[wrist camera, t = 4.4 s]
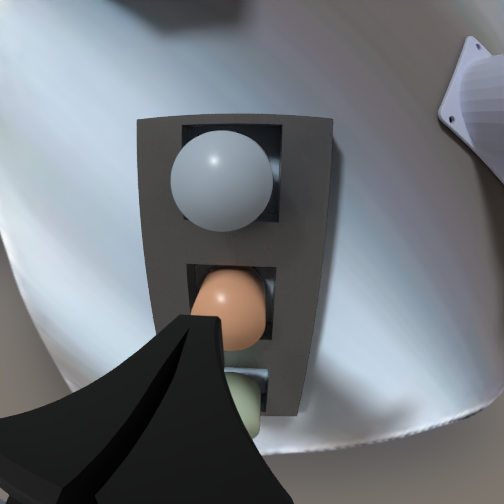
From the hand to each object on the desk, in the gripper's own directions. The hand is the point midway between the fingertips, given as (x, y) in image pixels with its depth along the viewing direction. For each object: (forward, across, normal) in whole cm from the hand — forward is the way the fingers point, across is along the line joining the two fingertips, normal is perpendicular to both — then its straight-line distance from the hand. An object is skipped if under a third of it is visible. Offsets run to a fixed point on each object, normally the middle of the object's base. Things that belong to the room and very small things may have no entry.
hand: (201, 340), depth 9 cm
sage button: (+7, 0, +11) cm, 13 cm away
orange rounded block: (+9, 0, +3) cm, 10 cm away
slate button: (+7, 0, -4) cm, 9 cm away
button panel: (+9, 0, +3) cm, 10 cm away
